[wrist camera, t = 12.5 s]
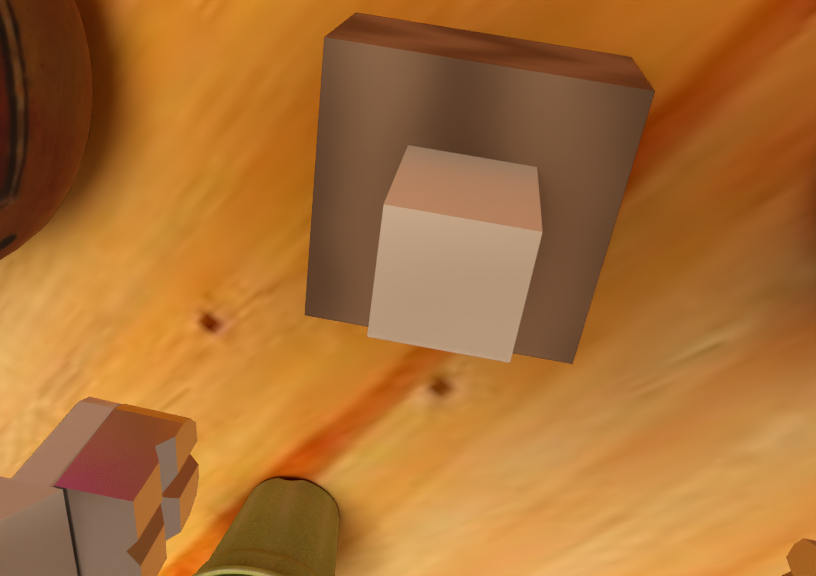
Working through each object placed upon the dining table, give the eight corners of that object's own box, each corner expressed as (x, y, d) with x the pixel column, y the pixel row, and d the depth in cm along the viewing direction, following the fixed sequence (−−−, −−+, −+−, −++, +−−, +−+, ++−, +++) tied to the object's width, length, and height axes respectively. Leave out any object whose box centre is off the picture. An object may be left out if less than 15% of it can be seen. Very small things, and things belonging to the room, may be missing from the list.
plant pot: (396, 516, 46) (374, 639, 38) (306, 580, 50) (270, 702, 42) (282, 430, 44) (234, 543, 36) (198, 504, 48) (139, 620, 40)
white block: (537, 167, 27) (542, 232, 22) (510, 280, 30) (510, 362, 25) (408, 145, 28) (383, 204, 22) (392, 259, 30) (366, 336, 25)
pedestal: (631, 57, 31) (654, 91, 26) (564, 296, 37) (572, 364, 31) (355, 12, 31) (324, 37, 26) (334, 255, 37) (304, 315, 32)
